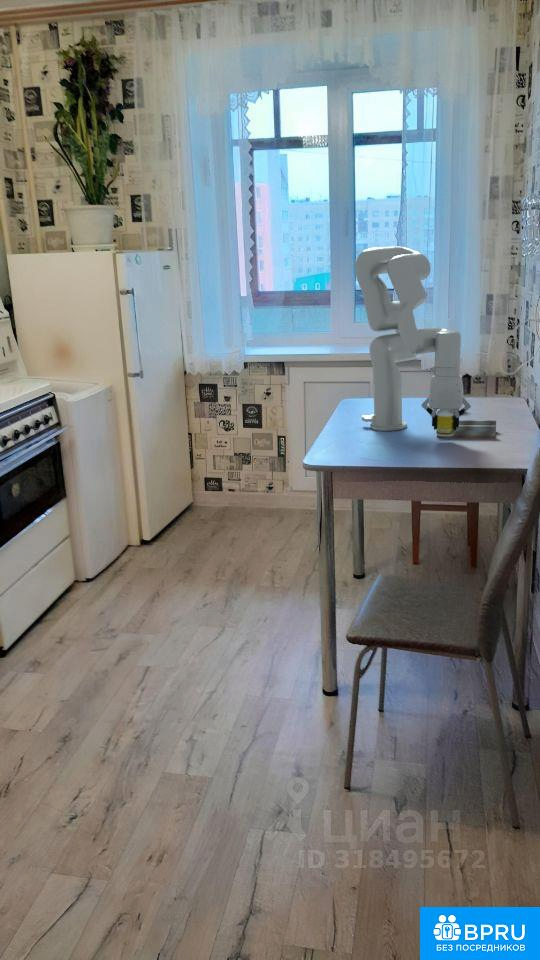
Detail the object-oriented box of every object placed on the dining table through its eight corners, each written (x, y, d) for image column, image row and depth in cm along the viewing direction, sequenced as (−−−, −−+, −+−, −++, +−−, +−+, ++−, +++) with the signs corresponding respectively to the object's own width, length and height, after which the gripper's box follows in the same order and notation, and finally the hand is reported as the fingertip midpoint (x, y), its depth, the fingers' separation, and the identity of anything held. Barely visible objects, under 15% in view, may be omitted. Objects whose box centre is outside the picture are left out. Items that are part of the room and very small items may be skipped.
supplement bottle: (454, 437, 239) (455, 406, 236) (436, 436, 240) (437, 406, 237) (453, 432, 244) (454, 402, 241) (436, 432, 245) (437, 402, 242)
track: (436, 437, 249) (436, 425, 248) (439, 430, 257) (439, 419, 256) (494, 438, 243) (495, 426, 242) (495, 431, 251) (496, 420, 250)
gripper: (417, 373, 235) (416, 431, 241) (475, 374, 229) (472, 433, 235) (420, 369, 241) (419, 424, 247) (476, 369, 236) (474, 426, 242)
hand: (445, 428), depth 241 cm, fingers closed on supplement bottle, 5 cm apart
